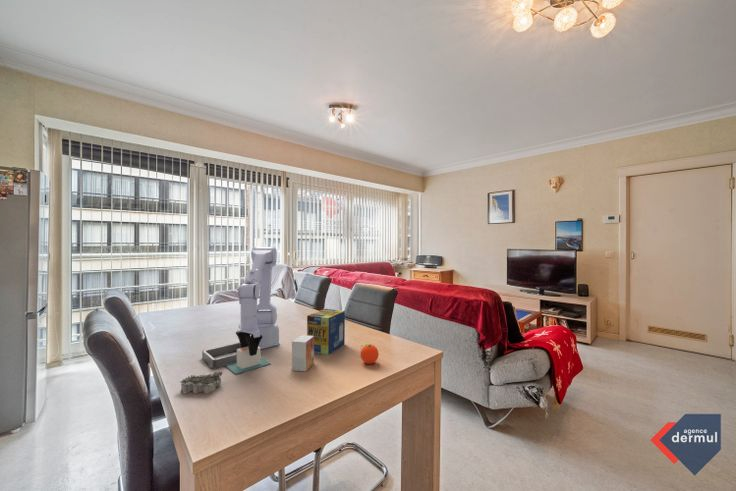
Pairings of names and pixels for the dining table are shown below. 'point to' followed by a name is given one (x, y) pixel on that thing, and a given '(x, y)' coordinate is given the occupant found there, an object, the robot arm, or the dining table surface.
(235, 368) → the mat
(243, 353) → the box
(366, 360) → the clementine
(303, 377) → the dining table surface
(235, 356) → the bin
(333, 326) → the protein box
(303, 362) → the small box
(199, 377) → the egg carton
